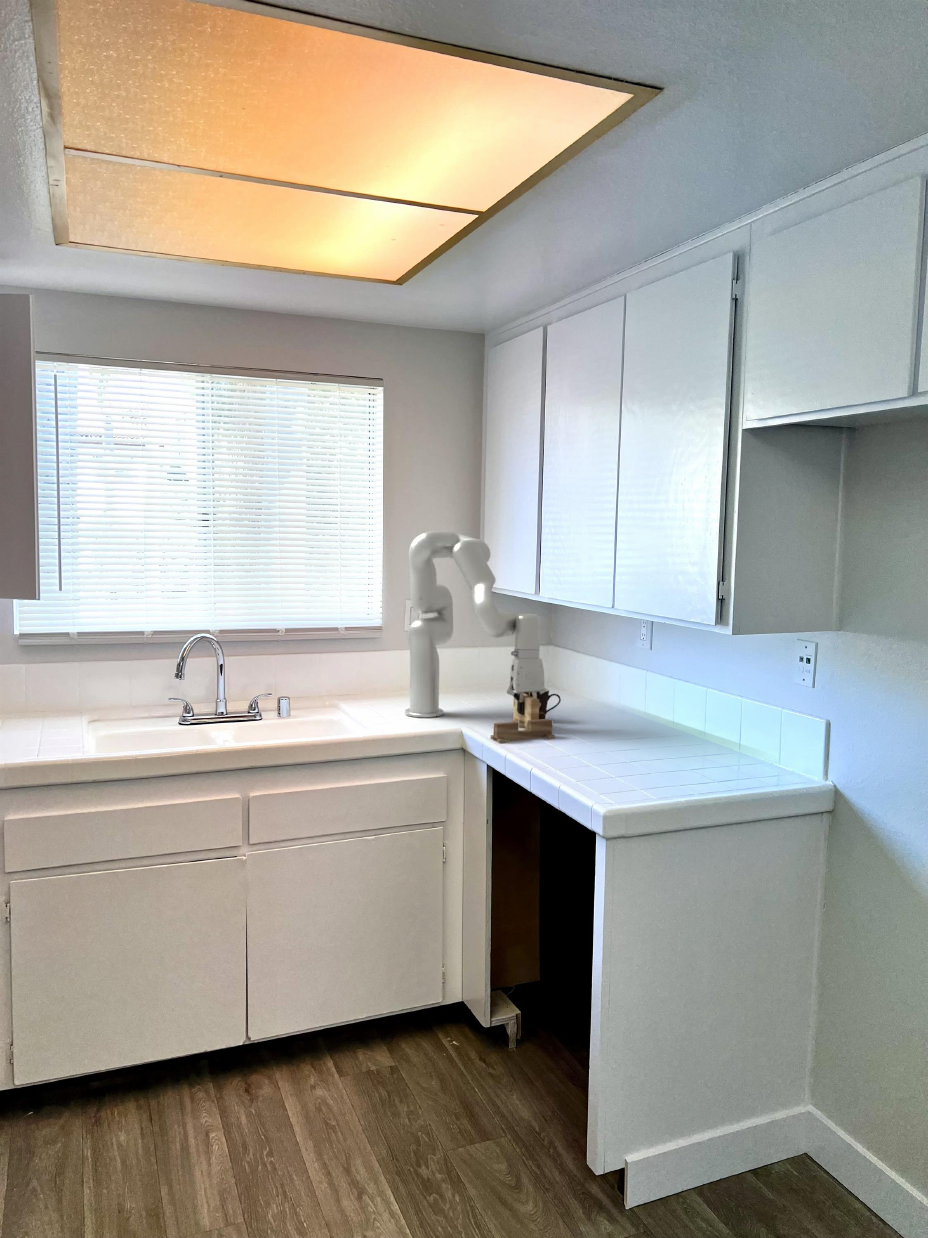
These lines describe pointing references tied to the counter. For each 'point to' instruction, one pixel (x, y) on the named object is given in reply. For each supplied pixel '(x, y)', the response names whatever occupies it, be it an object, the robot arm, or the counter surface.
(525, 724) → the oak slotted plate
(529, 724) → the walnut notched block
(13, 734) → the counter surface
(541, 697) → the coffee mug
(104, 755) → the counter surface
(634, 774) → the counter surface
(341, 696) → the counter surface
